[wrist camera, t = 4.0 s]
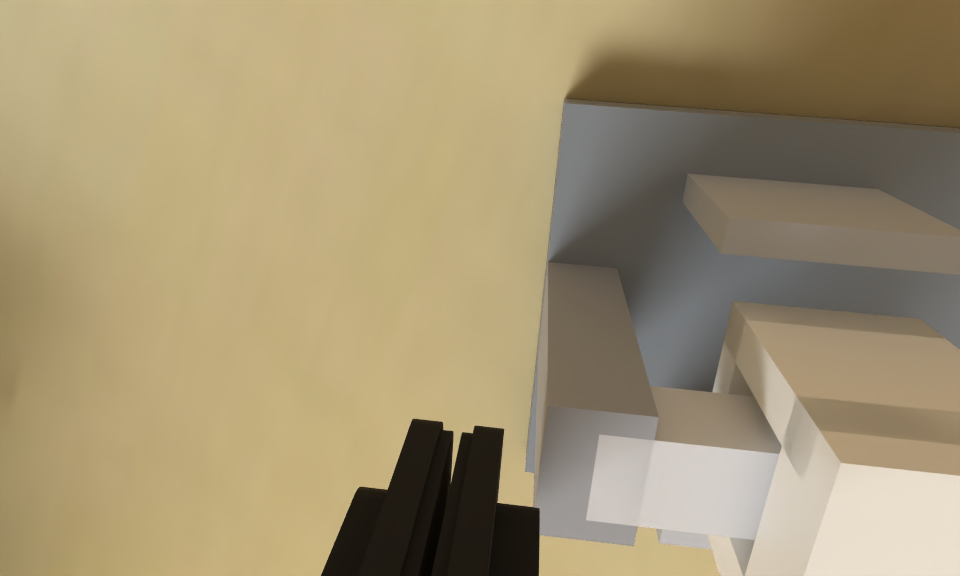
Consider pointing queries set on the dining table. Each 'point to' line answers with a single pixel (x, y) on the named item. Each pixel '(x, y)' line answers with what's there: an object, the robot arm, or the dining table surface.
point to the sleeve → (848, 443)
